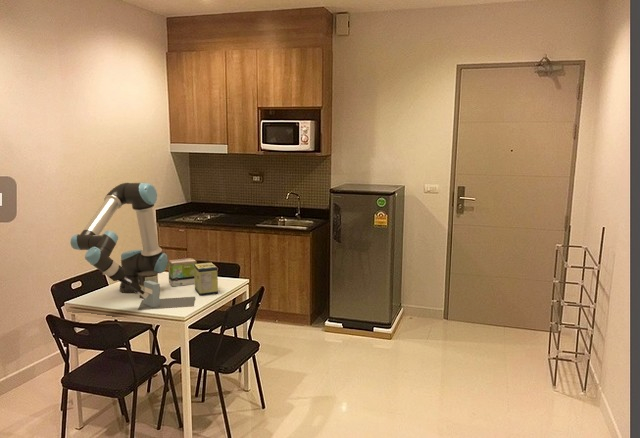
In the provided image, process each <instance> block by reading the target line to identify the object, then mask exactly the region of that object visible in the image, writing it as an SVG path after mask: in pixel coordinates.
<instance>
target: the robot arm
mask: <svg viewBox="0 0 640 438" xmlns="http://www.w3.org/2000/svg"><path fill="white" fill-rule="evenodd" d="M103 199H104V200H103V202H102V204H101V205H100V206H99V208H98V210H97V211H95V214H94V215H93V216H92V218H90V220H89V222H88V223H87V225H86V226H85V227H84V229H83V230H82V231H81V233H80V234H73V236H71V238H70V245H71V248H72V249H74V250H78V251H86V253H85V254H84V259H85V260H86V262H88V263H89V264H90V265H91V266H93V267H95V268H96V269H97V270H98V271H100V272H101V273H102V275H103V276H106V277H108V278H109V279H110V280H112V281H113V282H117V281H118V282H120V283H119V284H120V285H119V292H120V293H124V294H131V293H135V294H138V295H139V296H140V295H141V296H142V297H143V298H145V299H146V298H147V297H148V295H149V294H148V293H147V292H145V291H144V290H143V289H141V287H140V286H139V276H138V273H140V272H143V271H157V272H158V274H162V273H164V272H165V271H166V269H167V266H168V261H169V258H168V255H167V253H164V252H163V249H162V247H160V245H159V240H158V235H157V229H156V224H155V217H154V211H153V208H154V207H155V204H156V203H157V200H158V192H157V190H156V188H155V186H154V185H152V184H151V183H147V182H146V183H145V182H123V183H120V184H118V185H115V187H113V188H111V189H110V191H108V193H107V194H106V195H105V196H104V198H103ZM124 205H131V208H132V210H134V211H135V213H136V218H137V224H138V229H139V234H140V239H141V244H142V246H141V247H142V249H133V250H127V251H124V252H122V253H121V254H120V263H121V264H120V265H119V263H118V262H116V261H115V260H114V259H112V257H110V256H111V255H112V253H113V251H114V249H115V246H116V245H117V242H118V240H119V236H118V235H117V233H116V232H114V231H112V230H105V231H104V232H103V233H102V234H101V232H102V231H103V230H104V228H105V227H106V226H107V225H108V223H109V222H110V220H111V218H112V217H113V215H114V214H115V213H116V212H117V210H119V209H121V208H122V206H124ZM100 234H101V235H100Z"/></svg>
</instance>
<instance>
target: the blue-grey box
mask: <svg viewBox="0 0 640 438" xmlns="http://www.w3.org/2000/svg"><path fill="white" fill-rule="evenodd" d="M160 286H161V285H160V283H159V282H158V283H156V282H153V281H144V291H145V292H147V293H148V294H149V295H148V297H147V298H146V299H145V298H144V299H143V300H144V304H146V305H148V306H151V307H153V308H154V307H159V300H160V299H161V298H160V296H161V295H160V291H161V288H160Z"/></svg>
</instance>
